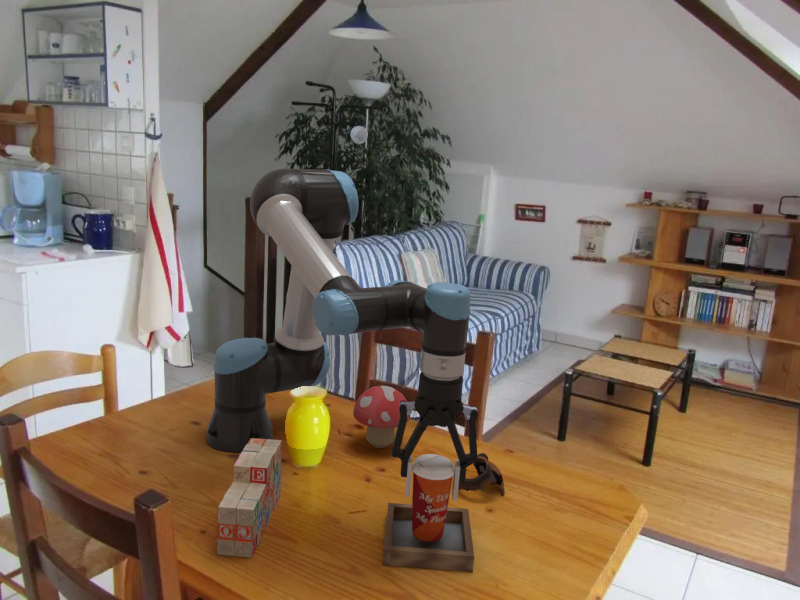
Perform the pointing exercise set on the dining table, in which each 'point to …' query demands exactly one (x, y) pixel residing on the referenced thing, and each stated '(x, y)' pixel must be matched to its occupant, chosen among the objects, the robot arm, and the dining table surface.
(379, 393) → the decorative mushroom
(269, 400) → the dining table surface
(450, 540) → the tray
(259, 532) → the stack of blocks
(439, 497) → the paper cup
